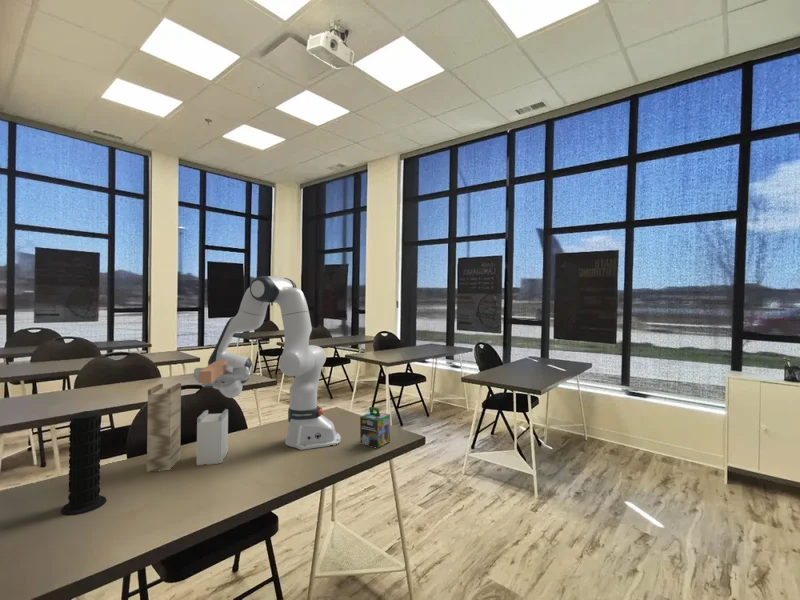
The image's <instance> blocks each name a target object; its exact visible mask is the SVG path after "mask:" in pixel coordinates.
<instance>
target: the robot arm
mask: <svg viewBox="0 0 800 600" xmlns="http://www.w3.org/2000/svg"><path fill="white" fill-rule="evenodd" d="M307 302H308V301H307V299H306V297H305V295H304V292H303V291H302V290H301V289H300V288H299V287H297V284H296V283H295V282H294V281H293V280H292V279H290V278H287V277H279V276H276V275H275V276H274V275H273V276H272V275H269V276H268V275H262V276H258V277H256V278H254V279H253V280H252V281H251V282H250V286H249V287H248V288H247V289H246V291H245V292H244V294H243V297H242V300H241V302H240V305H239V309H238V312H237V314H236V315H235V316H232V317H230V318H229V320H227V322H226V324H225V325H224V327H223V330H222V331H221V334H220V336H219V338H218V341H217V343H216V346H215V347H214V349H213V351H212V353H211V354H210V357H209V359H208V360H207V361H208V362H207V366H209V365H210V364H212V363H213V362H215V361H224V360H227V365H224V370H227V371H226V372H224V373H223V374H222V375H221V376H219V377H218V378H217V379H216V380H214V381H213V382H212V383H200V384H201V386H202V387H203V388H209V389H211V388H213V389H216V390H219V392H220V393H221V394H222V395H223V396H224V397H226V398H230V399H231V398H236V397H238V396H240V394H241V393H242V391H243V385H244V384H245V383H247V381H248V380H250V379H251V378H252V373H253V368H254V365H253V362H252V360H251V358H250V357H247V356H243V355H239V354H236V353H233V352H230V351H228V347H229V346H230V343H231V341H232V338H233V337H234V335H235V334H236V333H244V332H246V333H247V332H252V331H255V330H257V329H259V328H260V327H261V326H262V325H263V324H264V322H265V321H264V320H265V318H266V314H267V310H268V306H269V305H270V304H273V303H277V305H278V306H279V308H280V313H281V319H282V320H281V321H282V326H283V332H284V342H283V344H284V345H283V351H282V354H281V355H280V357H279V361H278V366H279V371H281V373H282V374H283V375H285V376H288V377H294V380H293V382H292V384H291V386H290V388H289V407H288V410H287V422H288V425H287V426H288V427H287V433H286V437H285V440H284V444H285V445H286V446H288V447H291V448H292V447H293V448H296V449H298V450H300V451H301V450H309V449H310V450H311V449H316V448H324V447H330V445H333V446H337V445H339V444H340V443H341V442H342V437H341V435H340V433H338V432H337V431H336V427H335V425H334V423H333V421H331V420H330V419H329V418H327V417H326V416H324V415H323V414H324V411H323V408H322V407H321V406H319V405H318V388H319V387H318V386H319V382H320V378H321V377H320V376H321V373H322V369H323V367H324V364H325V363H326V360H327V354H326V351H325V349H324V348H323V347H321V346H318V345H314V344H310V337H311V334H312V331H313V327H312V322H311V316H310V311H309V307H308V303H307ZM309 344H310V345H309ZM204 368H205V367H196V368H194V370H193V371H194V372H193V379H195V381H196V382H198V383H199V371H200V370H202V369H204ZM339 442H340V443H339ZM338 443H339V444H338ZM336 444H337V445H336Z"/></svg>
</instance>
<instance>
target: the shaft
mask: <svg viewBox="0 0 800 600" xmlns="http://www.w3.org/2000/svg"><path fill="white" fill-rule="evenodd" d="M224 365H227V360H224V361H215V362H213V363H212V364H210V365H209V366H208V365H207V366H206V367H203V368H204V369H202V370H200V371H199V382H198V384H201V383H212V382H213V381H214V380H216V379H217V378H218V377H219V376H221V375H222V374H223V373H224V372H226V371H227V370H224Z"/></svg>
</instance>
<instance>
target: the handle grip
mask: <svg viewBox="0 0 800 600" xmlns="http://www.w3.org/2000/svg"><path fill="white" fill-rule="evenodd" d="M101 414H102V412H101V411H95V410H84V411H81V412H76V413H74V414H71V415H70V416H69V420H70V422H69V427H68V428H69V432H68V433H69V436H68V440H69V442H68V445H69V447H68V453H69V455H68V457H69V459H68V464H69V465H68V469H69V470H68V492H69V494H68V498H67V499H68V503H66V504H65V505H63V506H62V508H61V509H60V514H62V515H65V516H76V515H83V514H86V513H90V512H92V511H94V510H97V509H98V508H101V507H102V506H104V505H105V504H106V503H107V498H106V496H104V495H101V494H100V493H101V488H100V485H101V483H100V481H101V475H100V474H101V471H100V469H101V459H100V458H101V453H100V452H101V444H102V443H101V435H102V434H101V433H102V430H101V421H102V420H101ZM89 511H90V512H89Z"/></svg>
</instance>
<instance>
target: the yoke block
mask: <svg viewBox="0 0 800 600" xmlns="http://www.w3.org/2000/svg"><path fill="white" fill-rule="evenodd" d="M196 419H197V420H196V423H197V424H196V466H204V465H203V464H207V465H216V464H217V465H219V464H218V463H221V464H222V463H223V462H224V460H223V459H225V458H226V456H227V455H226V454H228V453H227V452H228V449H229V448H228V447H229V440H228V439H229V438H228V437H229V436H228V435H229V434H228V433H229V409H228V408H224V410H223V411H222V413H209V409H206V410H204V411H202V413H201V414H200V415H199V416H198V417H197V418H196Z"/></svg>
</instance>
